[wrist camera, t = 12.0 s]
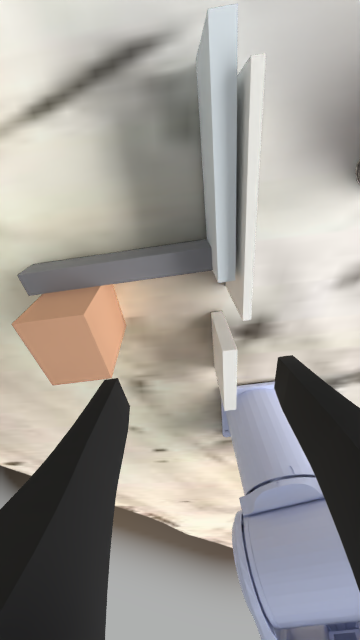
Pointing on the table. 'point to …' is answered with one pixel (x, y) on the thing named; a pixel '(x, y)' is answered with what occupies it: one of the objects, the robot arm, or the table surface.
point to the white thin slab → (242, 222)
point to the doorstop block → (74, 333)
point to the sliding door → (218, 178)
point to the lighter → (358, 172)
